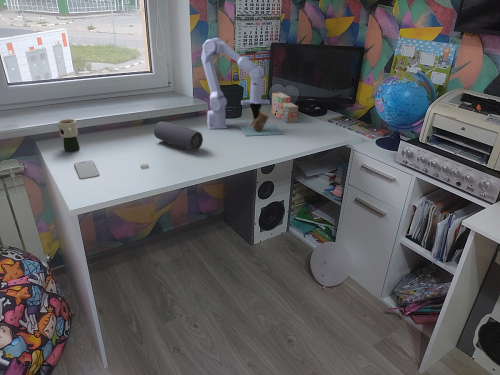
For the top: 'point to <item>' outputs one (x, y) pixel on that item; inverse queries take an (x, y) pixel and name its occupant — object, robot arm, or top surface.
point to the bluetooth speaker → (178, 135)
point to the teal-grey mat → (265, 131)
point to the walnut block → (259, 121)
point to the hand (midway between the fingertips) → (254, 118)
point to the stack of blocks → (284, 107)
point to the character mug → (69, 134)
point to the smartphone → (86, 169)
